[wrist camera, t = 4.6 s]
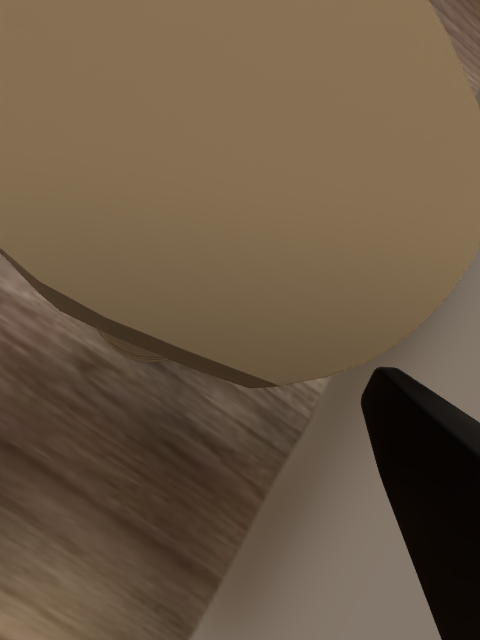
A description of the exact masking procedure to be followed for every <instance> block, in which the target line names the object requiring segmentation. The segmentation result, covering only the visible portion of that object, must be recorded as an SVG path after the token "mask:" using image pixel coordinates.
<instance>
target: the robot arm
mask: <svg viewBox="0 0 480 640" xmlns="http://www.w3.org/2000/svg"><path fill="white" fill-rule="evenodd" d="M361 406H362V411H363V415H364V419H365V422H366V426H367V430H368V433H369V437H370V441H371V445H372V448H373V452H374V456H375V460H376V464H377V467H378V470H379V474H380V477H381V479H382V482H383V485H384V488H385V491H386V493H387V496H388V498H389V501H390V504H391V506H392V509H393V512H394V514H395V517H396V520H397V522H398V525H399V528H400V530H401V533H402V536H403V538H404V541H405V543H406V546H407V549H408V551H409V554H410V557H411V559H412V562H413V565H414V567H415V570H416V573H417V575H418V578H419V581H420V583H421V586H422V589H423V591H424V594H425V597H426V599H427V602H428V604H429V607H430V610H431V612H432V615H433V618H434V620H435V623H436V625H437V628H438V631H439V634H440V636H441V639H442V640H480V423H479V422H478V421H476V420H475V419H473V418H472V417H470V416H469V415H467V414H465V413H464V412H463V411H461V410H460V409H458V408H457V407H455V406H454V405H452V404H451V403H449V402H448V401H446V400H445V399H443V398H442V397H440V396H439V395H437V394H436V393H434V392H433V391H431V390H430V389H428V388H427V387H425V386H424V385H422V384H420V383H419V382H418V381H416V380H415V379H413V378H412V377H410V376H409V375H407V374H405V373H404V372H403V371H401V370H400V369H398V368H394V367H378V368H376V369H375V370H374V372H373V374H372V376H371V378H370V380H369V382H368V384H367V386H366V388H365V390H364V392H363V394H362V398H361Z"/></svg>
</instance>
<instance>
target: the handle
mask: <svg viewBox="0 0 480 640" xmlns="http://www.w3.org/2000/svg"><path fill="white" fill-rule="evenodd" d="M479 246H480V108H479V106H478V103H477V101H476V98H475V96H474V94H473V91H472V89H471V86H470V84H469V82H468V79H467V77H466V75H465V73H464V70H463V68H462V66H461V63H460V61H459V59H458V57H457V54H456V52H455V50H454V48H453V45H452V43H451V41H450V38H449V36H448V34H447V32H446V30H445V29H444V27H443V25H442V23H441V21H440V20H439V18H438V16H437V14H436V12H435V10H434V9H433V7H432V5H431V3H430V1H429V0H0V252H1V254H2V255H3V256H4V257H5V258H6V259H7V260H8V261H9V262H10V263H11V264H12V265H13V266H14V267H15V268H16V269H17V270H18V271H19V273H20V274H21V275H22V276H23V277H24V278H25V279H26V280H27V281H28V282H29V283H30V284H31V285H32V286H33V287H34V288H35V289H36V290H37V291H38V293H39V294H41V295H42V296H43V297H44V298H45V299H47V300H48V301H49V302H50V303H52V304H53V305H54V306H55V307H56V308H58V309H59V310H60V311H62V312H64V313H66V314H68V315H70V316H72V317H74V318H76V319H78V320H80V321H82V322H85V323H87V324H89V325H91V326H93V327H95V328H96V329H97V330H98V332H99V333H100V334H101V336H102V337H103V338H104V339H105V340H106V342H107V343H108V344H110V345H111V346H112V347H113V348H114V349H115V350H116V351H118V352H119V353H121V354H122V355H124V356H126V357H128V358H130V359H133V360H136V361H140V362H148V363H150V362H161V361H166V360H169V359H170V360H173V361H175V362H178V363H181V364H183V365H186V366H188V367H191V368H194V369H196V370H199V371H201V372H204V373H207V374H210V375H213V376H215V377H218V378H221V379H224V380H227V381H230V382H232V383H235V384H238V385H241V386H244V387H247V388H264V387H275V386H283V385H288V384H294V383H299V382H304V381H309V380H314V379H319V378H324V377H328V376H331V375H334V374H336V373H339V372H342V371H345V370H348V369H350V368H353V367H356V366H358V365H362V364H364V363H367V362H370V361H371V360H373V359H374V358H376V357H377V356H379V355H380V354H382V353H383V352H385V351H386V350H388V349H389V348H390V347H392V346H394V345H395V344H396V343H398V342H400V341H401V340H402V339H404V338H405V337H407V336H409V335H410V334H411V333H412V332H413V331H414V330H415V329H416V328H417V327H418V326H419V325H420V324H421V323H422V322H423V321H424V320H425V319H426V318H427V317H429V316H430V315H431V314H432V313H433V312H434V311H435V309H436V308H438V307H439V306H440V305H441V304H442V303H443V302H444V301H445V300H446V299H447V297H448V296H449V294H450V293H451V291H452V290H453V289H454V287H455V286H456V284H457V283H458V281H459V280H460V278H461V277H462V276H463V274H464V273H465V271H466V270H467V268H468V267H469V265H470V264H471V263H472V261H473V259H474V257H475V255H476V252H477V250H478V248H479Z"/></svg>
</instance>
